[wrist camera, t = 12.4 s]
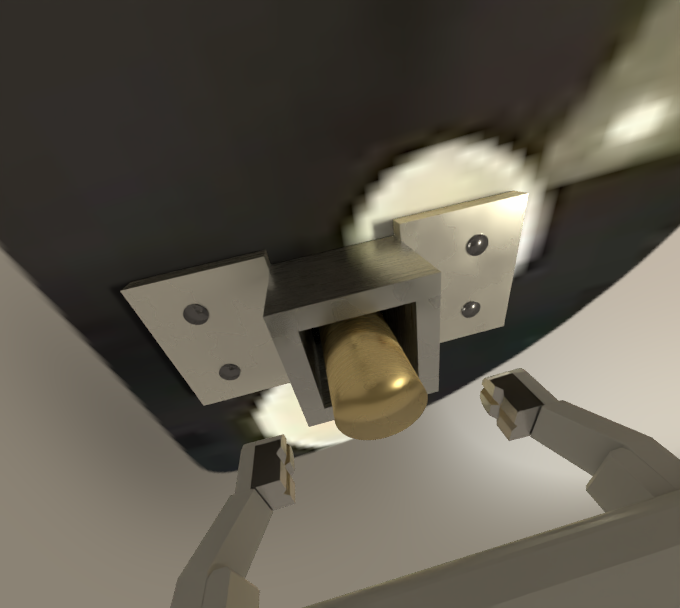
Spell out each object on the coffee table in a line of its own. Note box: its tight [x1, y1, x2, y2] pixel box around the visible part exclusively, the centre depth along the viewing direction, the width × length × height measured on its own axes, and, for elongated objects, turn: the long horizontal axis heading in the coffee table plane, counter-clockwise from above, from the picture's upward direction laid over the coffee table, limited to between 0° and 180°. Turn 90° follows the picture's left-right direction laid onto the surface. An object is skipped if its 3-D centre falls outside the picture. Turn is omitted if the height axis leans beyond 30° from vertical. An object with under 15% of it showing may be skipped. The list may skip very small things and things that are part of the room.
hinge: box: [120, 191, 529, 427], centre depth 16 cm, size 10×24×6 cm, turn 101°
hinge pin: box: [318, 311, 428, 440], centre depth 15 cm, size 4×4×9 cm
